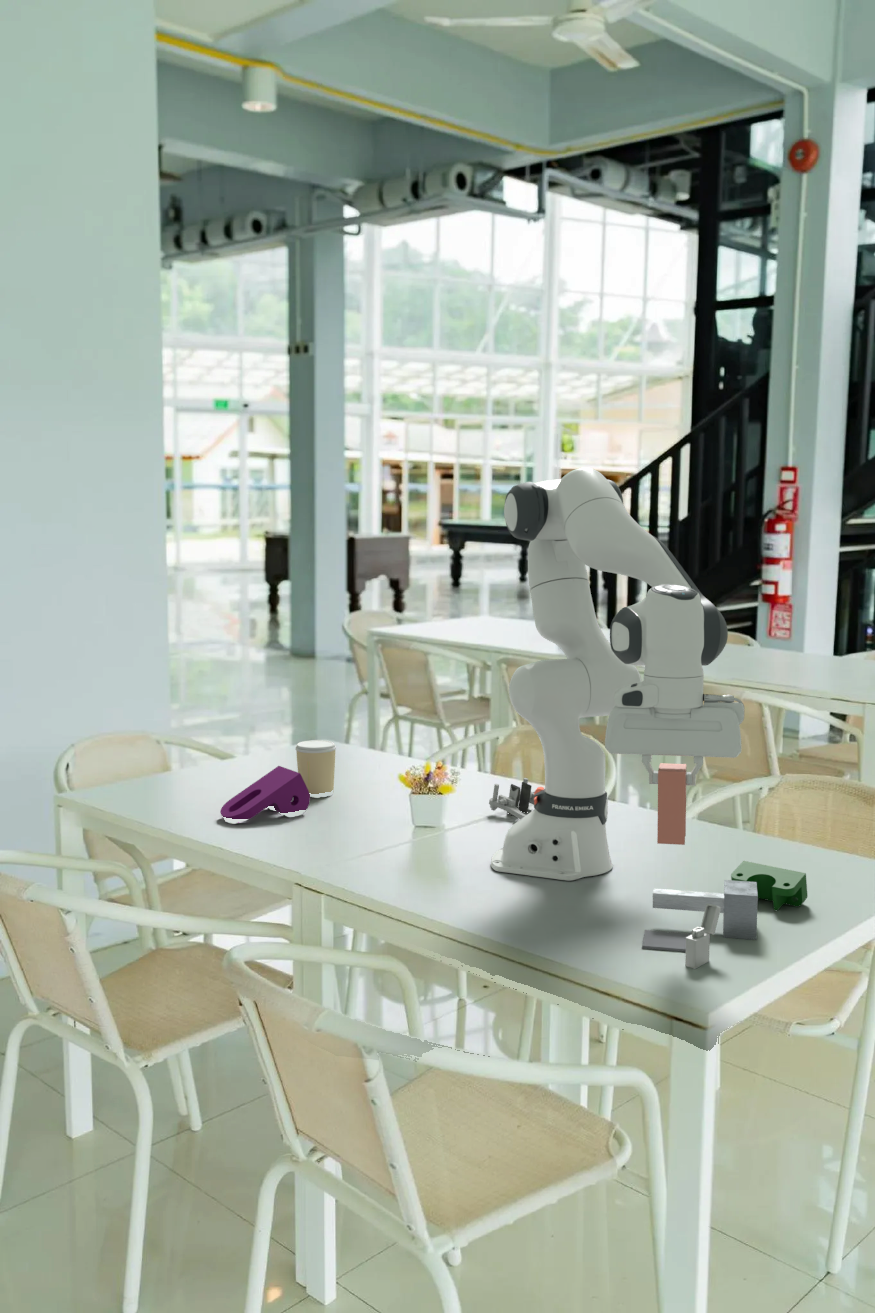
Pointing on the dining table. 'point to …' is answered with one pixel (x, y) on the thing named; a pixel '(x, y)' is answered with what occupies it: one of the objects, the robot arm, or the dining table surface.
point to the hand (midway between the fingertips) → (672, 784)
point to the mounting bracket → (269, 795)
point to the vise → (719, 905)
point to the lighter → (701, 938)
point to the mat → (665, 940)
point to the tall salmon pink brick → (671, 804)
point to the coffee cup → (317, 765)
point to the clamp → (774, 883)
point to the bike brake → (513, 799)
